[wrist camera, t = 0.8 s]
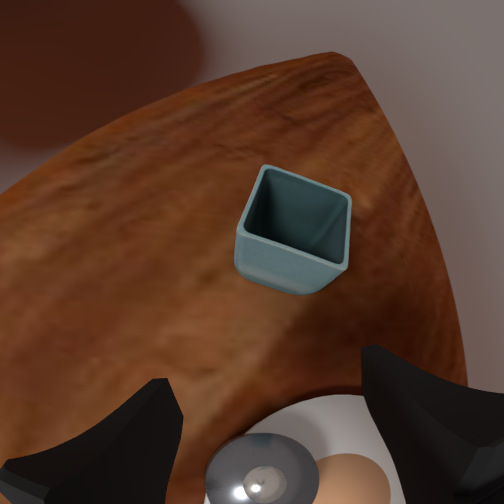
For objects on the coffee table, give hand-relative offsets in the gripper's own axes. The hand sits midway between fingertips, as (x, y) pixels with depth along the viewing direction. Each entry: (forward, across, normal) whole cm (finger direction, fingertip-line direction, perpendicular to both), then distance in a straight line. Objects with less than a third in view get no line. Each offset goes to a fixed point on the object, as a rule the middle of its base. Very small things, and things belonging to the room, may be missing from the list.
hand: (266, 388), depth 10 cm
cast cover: (+5, +3, +14) cm, 15 cm away
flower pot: (+22, -1, +2) cm, 22 cm away
